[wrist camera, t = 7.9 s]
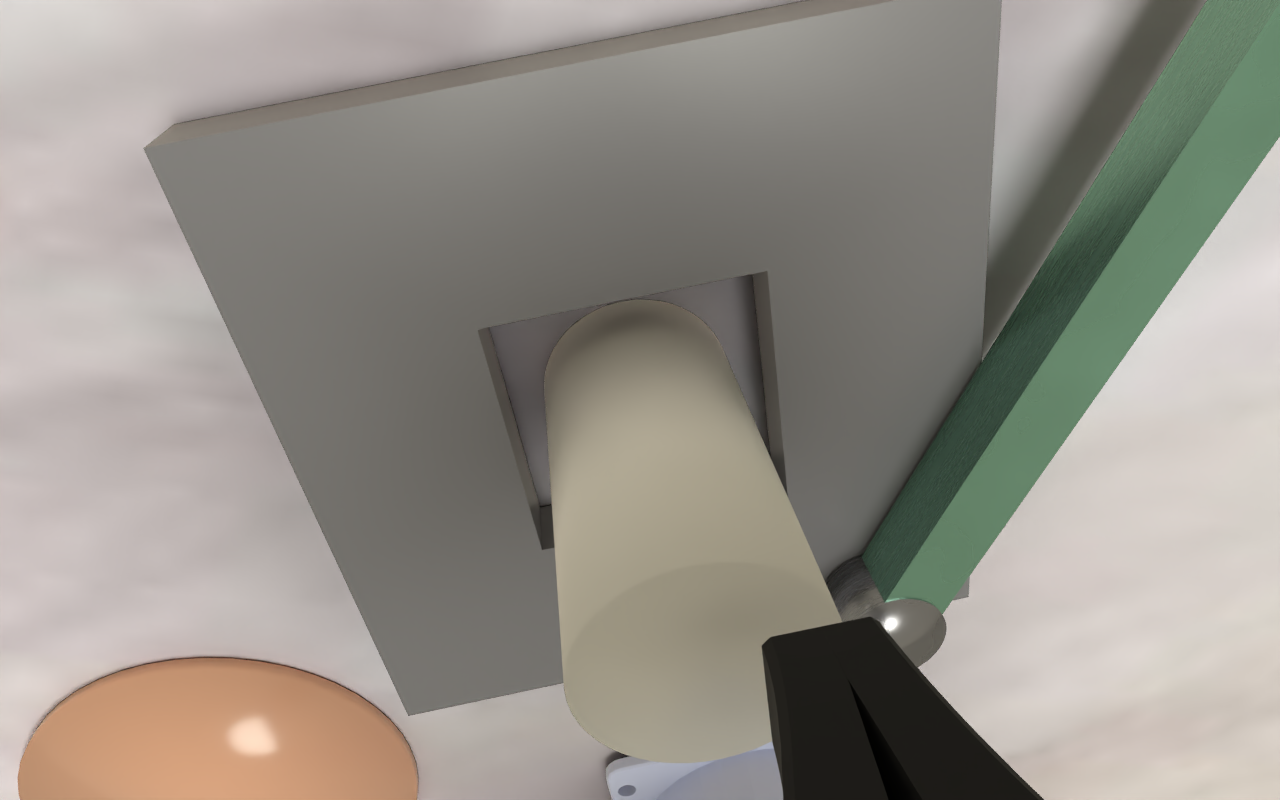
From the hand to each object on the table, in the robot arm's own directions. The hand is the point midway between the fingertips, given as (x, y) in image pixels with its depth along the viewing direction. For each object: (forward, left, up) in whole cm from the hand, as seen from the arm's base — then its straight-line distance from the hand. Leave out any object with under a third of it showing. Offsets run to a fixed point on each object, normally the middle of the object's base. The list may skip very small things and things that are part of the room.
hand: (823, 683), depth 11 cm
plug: (-1, +1, -9) cm, 10 cm away
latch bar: (0, -7, -8) cm, 11 cm away
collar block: (-1, +1, -9) cm, 9 cm away
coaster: (-11, +14, -9) cm, 20 cm away
